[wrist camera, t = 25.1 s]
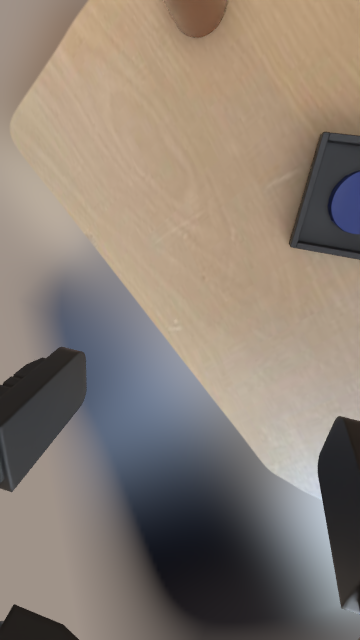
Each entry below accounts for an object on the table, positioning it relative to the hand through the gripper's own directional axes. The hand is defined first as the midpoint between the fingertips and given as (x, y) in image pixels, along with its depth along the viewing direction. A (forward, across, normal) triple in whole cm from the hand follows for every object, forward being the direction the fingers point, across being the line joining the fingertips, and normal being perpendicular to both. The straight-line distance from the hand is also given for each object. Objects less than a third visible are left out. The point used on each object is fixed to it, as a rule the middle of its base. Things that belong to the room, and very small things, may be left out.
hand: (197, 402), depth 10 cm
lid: (+28, -10, -5) cm, 30 cm away
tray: (+30, -10, -5) cm, 32 cm away
